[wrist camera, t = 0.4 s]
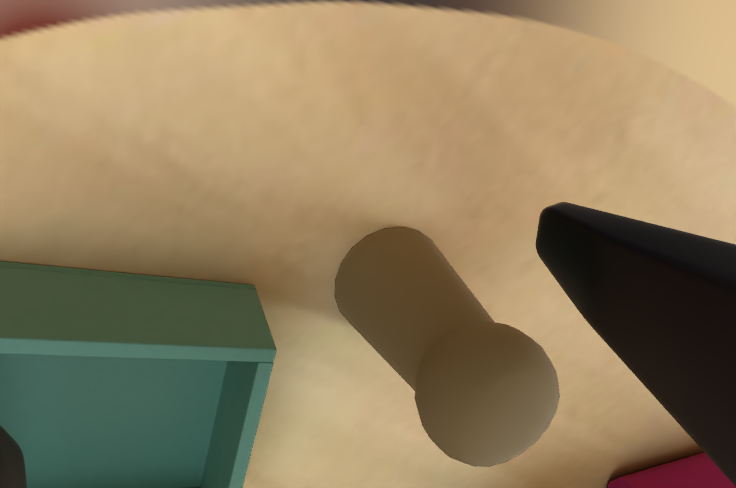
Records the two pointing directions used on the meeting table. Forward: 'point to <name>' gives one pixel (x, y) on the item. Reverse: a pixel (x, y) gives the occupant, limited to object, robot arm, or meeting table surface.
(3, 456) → the robot arm
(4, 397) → the tote
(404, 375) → the brown pawn
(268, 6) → the meeting table surface
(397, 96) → the meeting table surface
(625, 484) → the book
